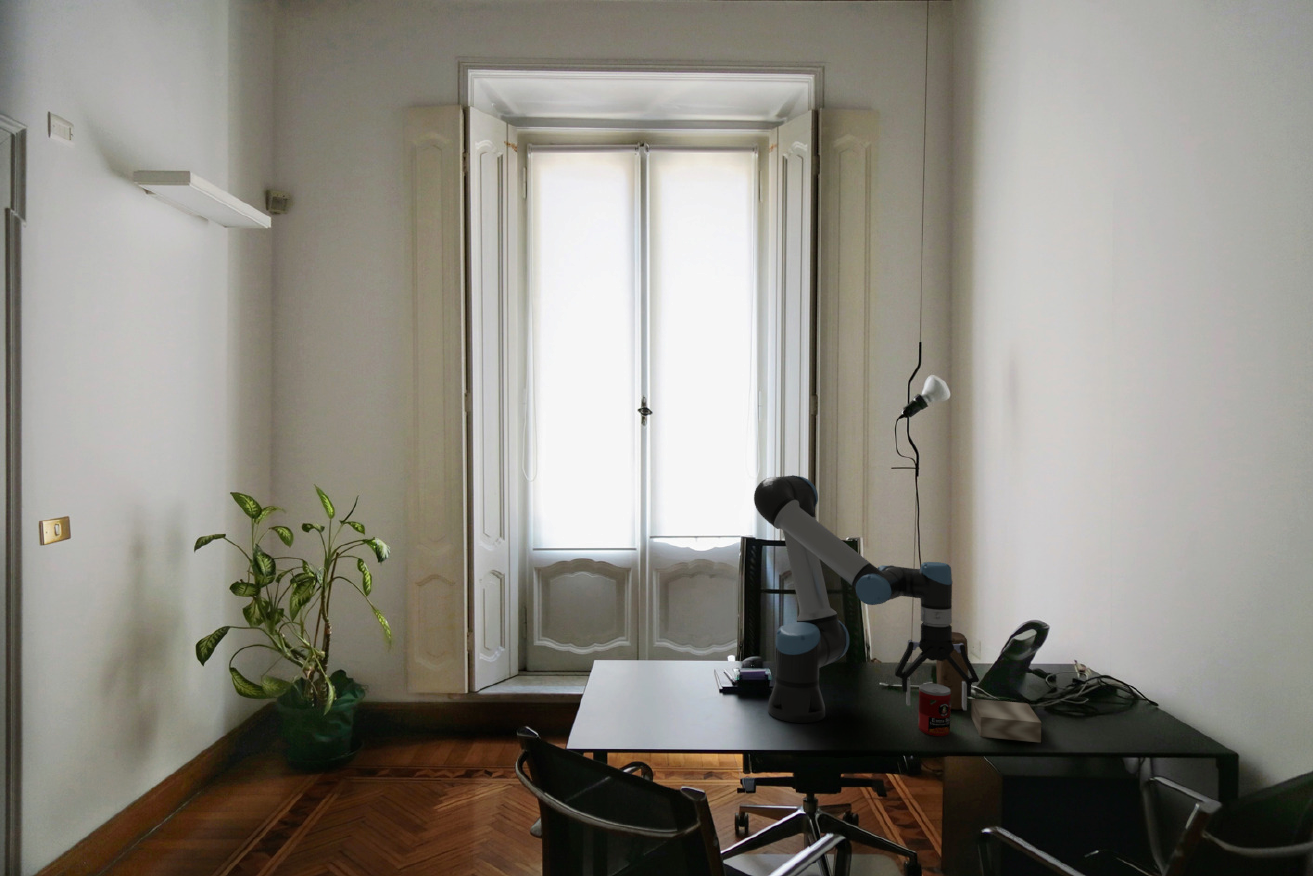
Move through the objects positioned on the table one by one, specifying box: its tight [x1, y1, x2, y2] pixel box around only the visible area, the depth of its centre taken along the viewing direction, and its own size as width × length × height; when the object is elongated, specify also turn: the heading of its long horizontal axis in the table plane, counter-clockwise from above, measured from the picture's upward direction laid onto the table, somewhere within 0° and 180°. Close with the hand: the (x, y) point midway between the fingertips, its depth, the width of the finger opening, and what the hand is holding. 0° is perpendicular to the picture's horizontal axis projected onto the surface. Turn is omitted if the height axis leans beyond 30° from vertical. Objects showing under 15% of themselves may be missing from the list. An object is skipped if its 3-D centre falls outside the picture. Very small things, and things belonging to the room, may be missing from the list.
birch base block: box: [970, 698, 1042, 744], centre depth 201 cm, size 14×14×5 cm
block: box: [935, 631, 969, 711], centre depth 220 cm, size 11×8×20 cm
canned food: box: [918, 682, 952, 737], centre depth 200 cm, size 8×8×11 cm
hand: (936, 706), depth 199 cm, fingers open, 13 cm apart
